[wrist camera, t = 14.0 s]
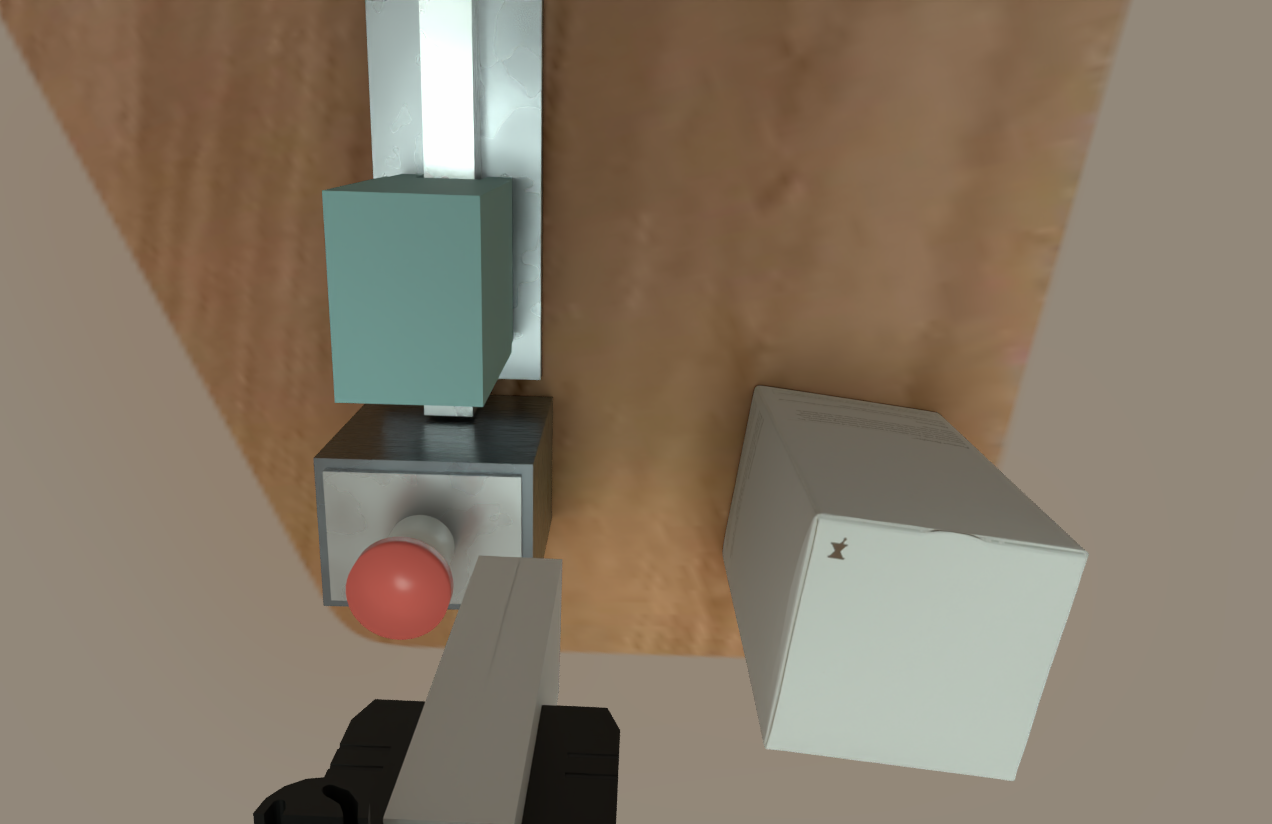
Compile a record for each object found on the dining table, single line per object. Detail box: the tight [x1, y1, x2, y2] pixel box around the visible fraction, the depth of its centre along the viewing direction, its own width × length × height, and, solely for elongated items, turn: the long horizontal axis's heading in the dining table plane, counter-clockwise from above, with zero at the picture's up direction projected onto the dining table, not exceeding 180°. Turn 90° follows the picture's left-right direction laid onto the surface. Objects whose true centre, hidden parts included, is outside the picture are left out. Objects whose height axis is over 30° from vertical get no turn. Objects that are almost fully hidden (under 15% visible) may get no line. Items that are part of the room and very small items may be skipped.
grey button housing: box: [314, 395, 553, 609], centre depth 40 cm, size 6×8×9 cm
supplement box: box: [723, 386, 1089, 781], centre depth 38 cm, size 9×9×15 cm
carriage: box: [322, 174, 513, 407], centre depth 36 cm, size 7×5×10 cm
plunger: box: [346, 515, 455, 640], centre depth 33 cm, size 3×3×4 cm
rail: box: [365, 0, 544, 417], centre depth 39 cm, size 22×7×4 cm, turn 178°
